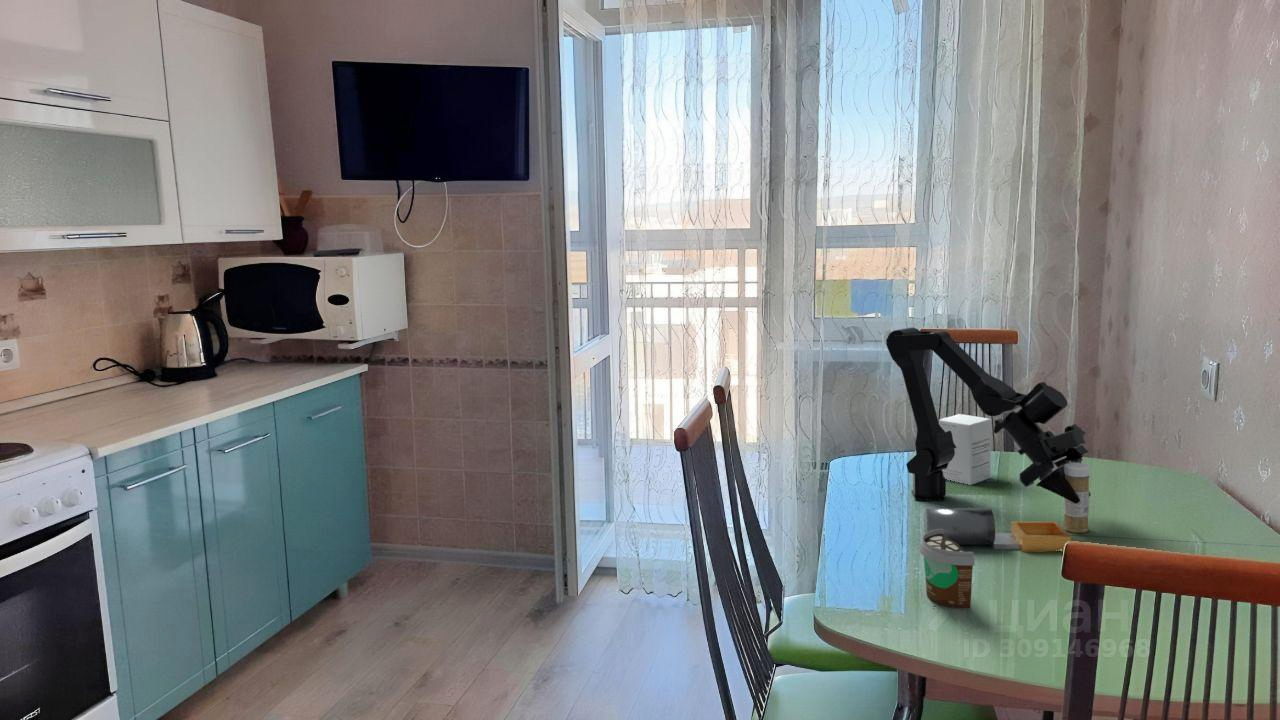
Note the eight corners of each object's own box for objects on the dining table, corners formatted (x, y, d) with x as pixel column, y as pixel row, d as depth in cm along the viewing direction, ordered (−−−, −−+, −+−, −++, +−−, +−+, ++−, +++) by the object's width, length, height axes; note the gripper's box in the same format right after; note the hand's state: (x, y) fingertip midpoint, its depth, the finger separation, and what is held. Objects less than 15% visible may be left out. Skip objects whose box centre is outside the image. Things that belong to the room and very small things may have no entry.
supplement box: (937, 478, 213) (937, 419, 211) (958, 471, 219) (958, 413, 216) (970, 486, 206) (970, 424, 204) (991, 478, 211) (992, 418, 209)
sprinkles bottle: (1073, 524, 177) (1074, 460, 175) (1093, 530, 173) (1095, 465, 171) (1058, 528, 175) (1059, 464, 173) (1078, 535, 171) (1079, 469, 169)
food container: (907, 585, 152) (907, 530, 150) (941, 582, 152) (941, 527, 151) (937, 615, 140) (937, 556, 138) (974, 612, 140) (974, 553, 139)
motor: (930, 551, 167) (930, 516, 166) (923, 535, 175) (923, 502, 174) (1070, 552, 163) (1071, 516, 162) (1056, 536, 171) (1057, 501, 170)
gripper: (1035, 421, 168) (1093, 487, 161) (1079, 405, 179) (1134, 466, 173) (996, 454, 175) (1050, 519, 168) (1040, 437, 187) (1092, 497, 180)
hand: (1083, 499), depth 172 cm, fingers closed on sprinkles bottle, 4 cm apart
